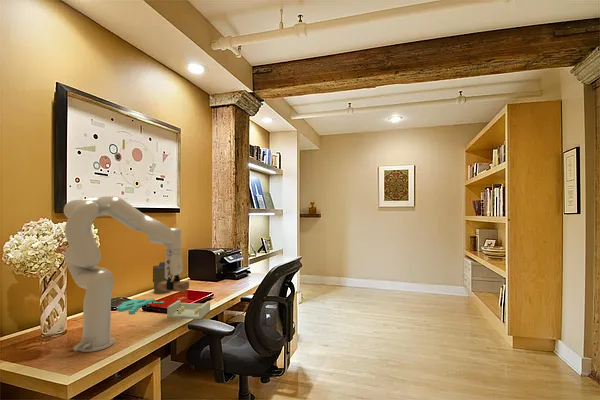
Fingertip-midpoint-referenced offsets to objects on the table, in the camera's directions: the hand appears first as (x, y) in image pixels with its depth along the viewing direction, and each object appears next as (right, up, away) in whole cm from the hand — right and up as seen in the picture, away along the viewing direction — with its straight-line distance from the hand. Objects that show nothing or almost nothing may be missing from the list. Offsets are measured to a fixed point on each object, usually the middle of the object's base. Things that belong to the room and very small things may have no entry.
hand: (173, 287), depth 157 cm
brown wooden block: (0, -1, 0) cm, 1 cm away
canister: (-29, -18, +52) cm, 62 cm away
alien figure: (-29, -17, +21) cm, 39 cm away
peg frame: (+5, -16, +8) cm, 19 cm away
